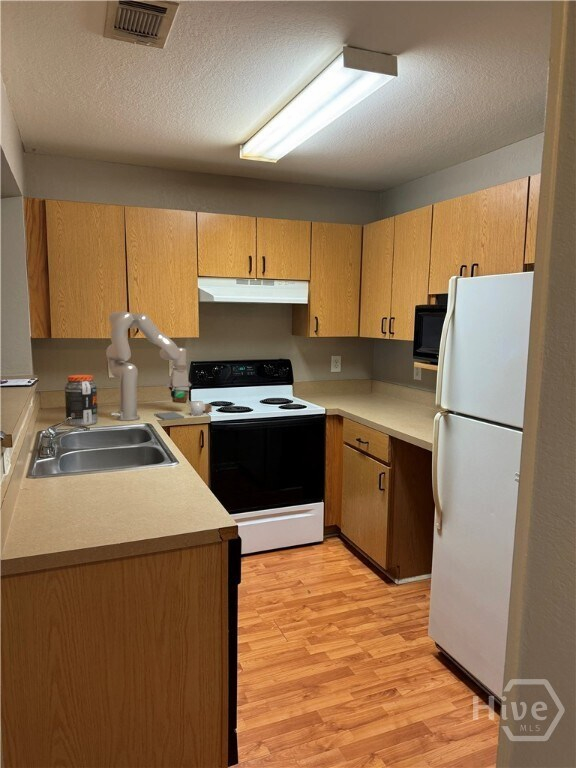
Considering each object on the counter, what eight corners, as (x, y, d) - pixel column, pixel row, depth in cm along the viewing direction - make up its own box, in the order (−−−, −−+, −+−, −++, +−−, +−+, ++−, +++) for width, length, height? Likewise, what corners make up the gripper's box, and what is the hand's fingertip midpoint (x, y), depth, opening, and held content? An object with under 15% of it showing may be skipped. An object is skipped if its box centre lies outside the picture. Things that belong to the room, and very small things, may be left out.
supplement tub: (100, 425, 272) (98, 376, 269) (68, 427, 264) (66, 378, 261) (94, 419, 286) (93, 373, 283) (64, 422, 278) (62, 374, 275)
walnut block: (205, 413, 309) (205, 405, 308) (199, 412, 312) (199, 404, 312) (211, 412, 313) (211, 404, 312) (206, 411, 316) (206, 403, 315)
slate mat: (163, 420, 288) (163, 418, 288) (154, 415, 301) (154, 413, 301) (184, 418, 294) (184, 416, 294) (173, 413, 307) (173, 411, 307)
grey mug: (193, 416, 299) (193, 403, 298) (189, 414, 305) (188, 401, 304) (207, 415, 304) (207, 402, 303) (202, 413, 310) (202, 400, 308)
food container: (165, 401, 313) (167, 384, 312) (172, 401, 318) (174, 385, 318) (181, 403, 307) (182, 386, 306) (188, 403, 312) (189, 387, 312)
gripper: (167, 368, 303) (167, 398, 305) (195, 368, 313) (194, 397, 315) (163, 367, 310) (162, 396, 311) (190, 367, 319) (189, 396, 321)
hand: (178, 397), depth 313 cm, fingers closed on food container, 6 cm apart
